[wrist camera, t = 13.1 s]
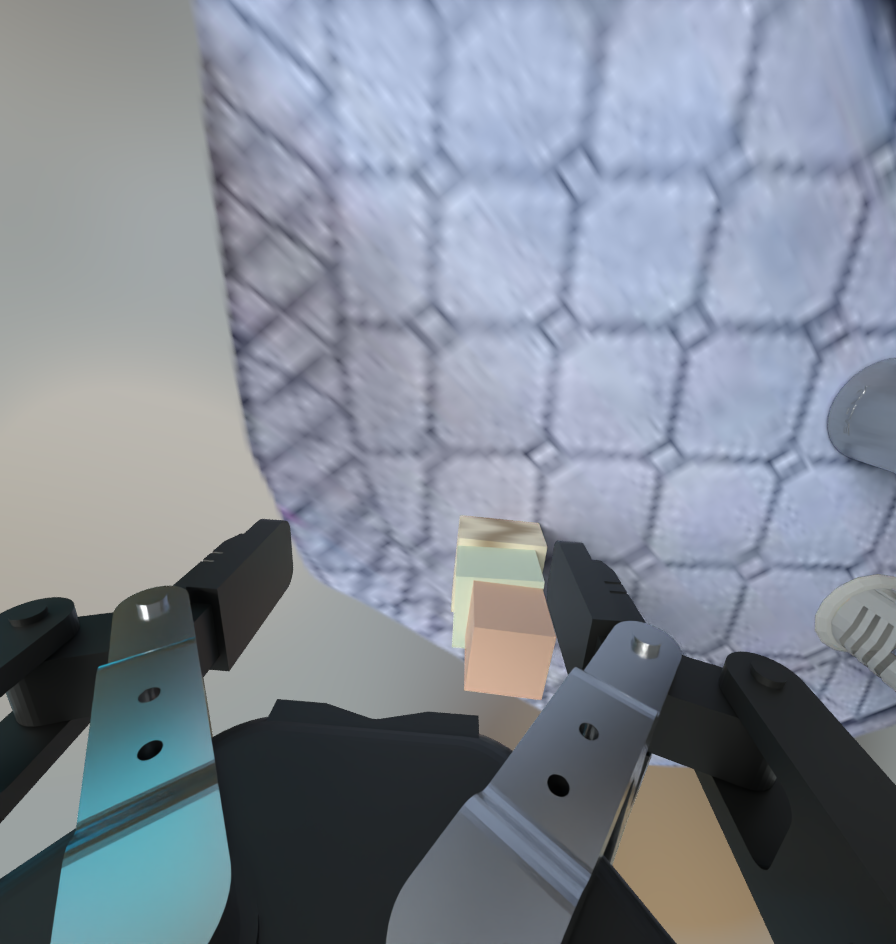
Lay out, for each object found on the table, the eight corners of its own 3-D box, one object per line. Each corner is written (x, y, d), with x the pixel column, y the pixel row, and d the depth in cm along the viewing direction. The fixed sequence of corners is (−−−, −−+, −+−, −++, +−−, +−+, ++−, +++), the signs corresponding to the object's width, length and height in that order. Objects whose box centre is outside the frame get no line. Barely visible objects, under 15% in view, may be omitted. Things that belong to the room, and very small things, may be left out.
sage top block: (535, 550, 37) (544, 581, 32) (527, 614, 39) (534, 653, 35) (457, 545, 37) (455, 576, 33) (454, 609, 40) (452, 647, 35)
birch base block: (538, 522, 42) (547, 546, 37) (526, 589, 44) (533, 620, 40) (459, 514, 42) (458, 537, 37) (452, 581, 44) (450, 611, 40)
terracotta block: (542, 588, 33) (556, 637, 27) (530, 644, 34) (541, 700, 29) (473, 580, 33) (474, 627, 27) (465, 636, 34) (464, 690, 29)
